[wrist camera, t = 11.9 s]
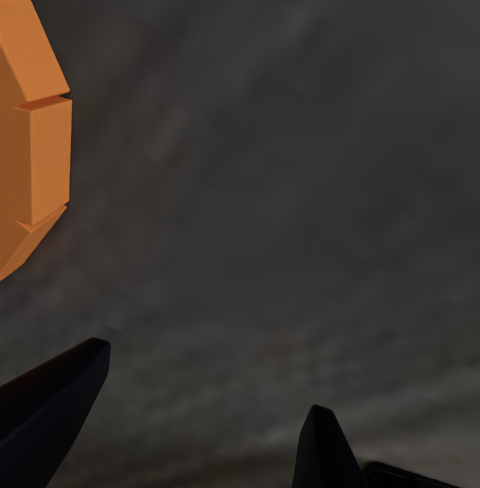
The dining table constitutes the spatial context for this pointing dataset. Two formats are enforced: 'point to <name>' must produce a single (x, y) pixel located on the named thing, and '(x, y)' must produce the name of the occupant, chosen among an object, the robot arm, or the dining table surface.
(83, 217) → the dining table surface
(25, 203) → the ring
